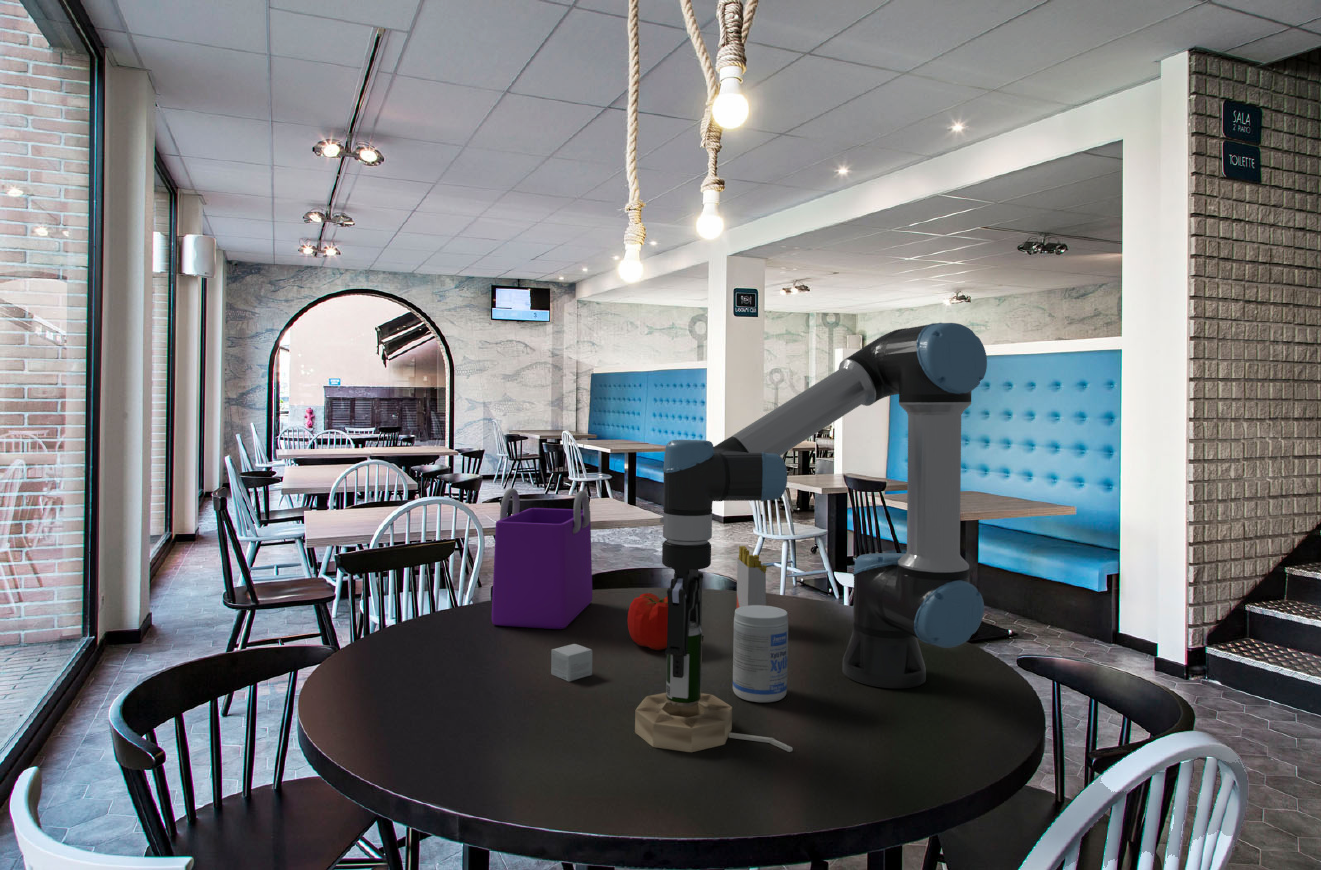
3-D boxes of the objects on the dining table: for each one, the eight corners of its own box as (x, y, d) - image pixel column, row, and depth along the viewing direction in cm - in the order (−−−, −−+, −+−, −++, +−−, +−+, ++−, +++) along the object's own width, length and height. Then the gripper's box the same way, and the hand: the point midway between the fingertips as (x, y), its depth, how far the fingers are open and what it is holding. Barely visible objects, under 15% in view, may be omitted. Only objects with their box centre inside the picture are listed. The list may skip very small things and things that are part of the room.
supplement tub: (782, 707, 130) (784, 620, 130) (726, 700, 133) (728, 615, 132) (790, 687, 139) (792, 606, 139) (738, 681, 142) (740, 602, 142)
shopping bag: (587, 631, 173) (588, 496, 171) (488, 631, 172) (489, 495, 171) (593, 599, 201) (594, 484, 200) (508, 599, 200) (509, 483, 199)
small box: (574, 667, 149) (574, 642, 148) (593, 675, 145) (593, 649, 144) (549, 674, 145) (550, 648, 144) (568, 682, 141) (569, 656, 140)
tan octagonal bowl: (736, 718, 125) (736, 697, 125) (719, 756, 112) (719, 732, 112) (652, 708, 129) (653, 687, 129) (626, 743, 115) (626, 720, 115)
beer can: (678, 710, 116) (680, 631, 116) (659, 698, 121) (660, 622, 120) (707, 703, 119) (709, 626, 119) (687, 692, 124) (688, 617, 123)
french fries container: (754, 620, 183) (756, 544, 183) (767, 633, 173) (768, 553, 172) (736, 620, 183) (737, 544, 182) (746, 633, 172) (748, 553, 171)
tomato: (617, 650, 159) (618, 599, 159) (642, 633, 172) (643, 586, 171) (679, 659, 154) (680, 607, 154) (701, 641, 166) (702, 592, 166)
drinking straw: (794, 743, 116) (794, 740, 116) (792, 752, 113) (792, 749, 113) (729, 735, 119) (729, 732, 119) (725, 743, 116) (725, 740, 116)
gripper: (678, 530, 129) (675, 668, 130) (646, 548, 111) (643, 708, 112) (722, 532, 127) (719, 673, 128) (697, 552, 109) (693, 715, 110)
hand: (683, 689), depth 120 cm, fingers closed on beer can, 5 cm apart
